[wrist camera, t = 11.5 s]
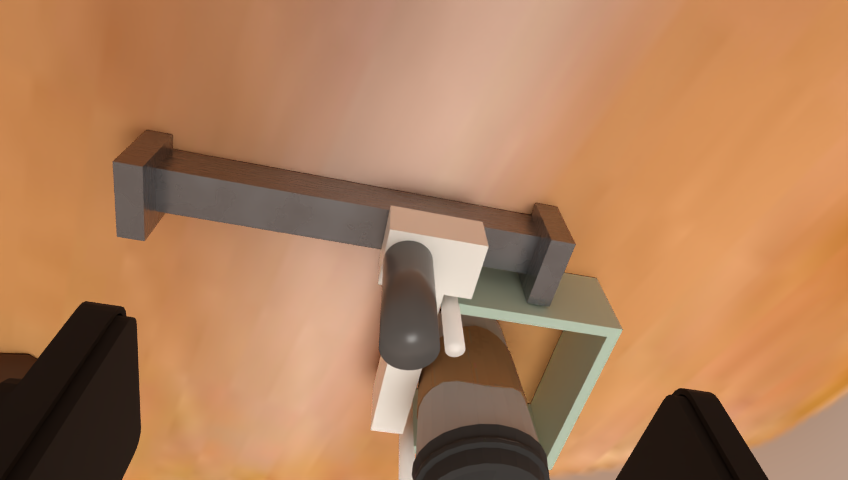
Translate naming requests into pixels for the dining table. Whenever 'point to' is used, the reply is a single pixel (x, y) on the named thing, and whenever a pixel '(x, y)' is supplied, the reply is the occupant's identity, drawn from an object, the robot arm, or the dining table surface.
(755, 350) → the dining table surface
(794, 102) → the dining table surface
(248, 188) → the rail
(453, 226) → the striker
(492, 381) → the coffee cup
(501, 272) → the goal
